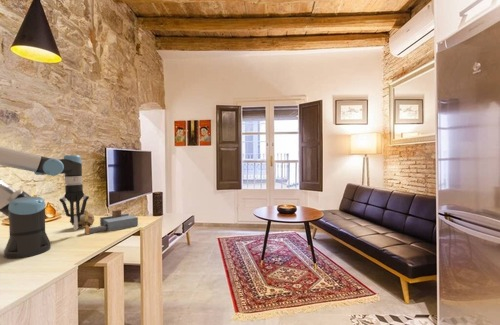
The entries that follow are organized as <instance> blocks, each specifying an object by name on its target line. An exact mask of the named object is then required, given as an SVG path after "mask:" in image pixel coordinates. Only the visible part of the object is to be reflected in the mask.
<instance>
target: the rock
mask: <svg viewBox="0 0 500 325" xmlns="http://www.w3.org/2000/svg"><path fill="white" fill-rule="evenodd" d="M74 216H77V215H76V213H74ZM69 222H70V224H71V226H73V223H71V218H70V219H69ZM94 222H95V217H94V215H93V213H90V212H89V211H88V210H87V209H85V211H84V214H83V215H80V222H78V228H80V227H85V225H88V226H89V227H90V226H93V225H94Z"/></svg>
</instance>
